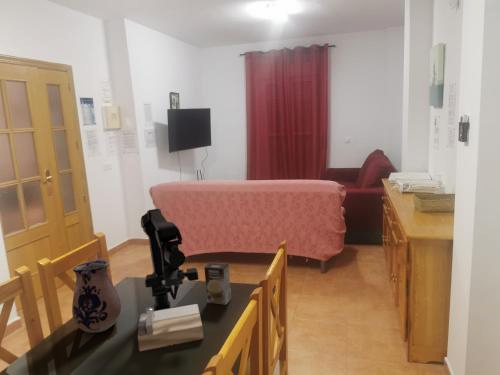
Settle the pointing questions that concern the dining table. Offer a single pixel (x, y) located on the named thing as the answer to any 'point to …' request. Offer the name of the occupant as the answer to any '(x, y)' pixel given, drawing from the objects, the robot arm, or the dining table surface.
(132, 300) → the dining table surface
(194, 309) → the jamb
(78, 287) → the ceramic pitcher
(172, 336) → the stepped wooden block
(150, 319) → the bar
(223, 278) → the coffee box
